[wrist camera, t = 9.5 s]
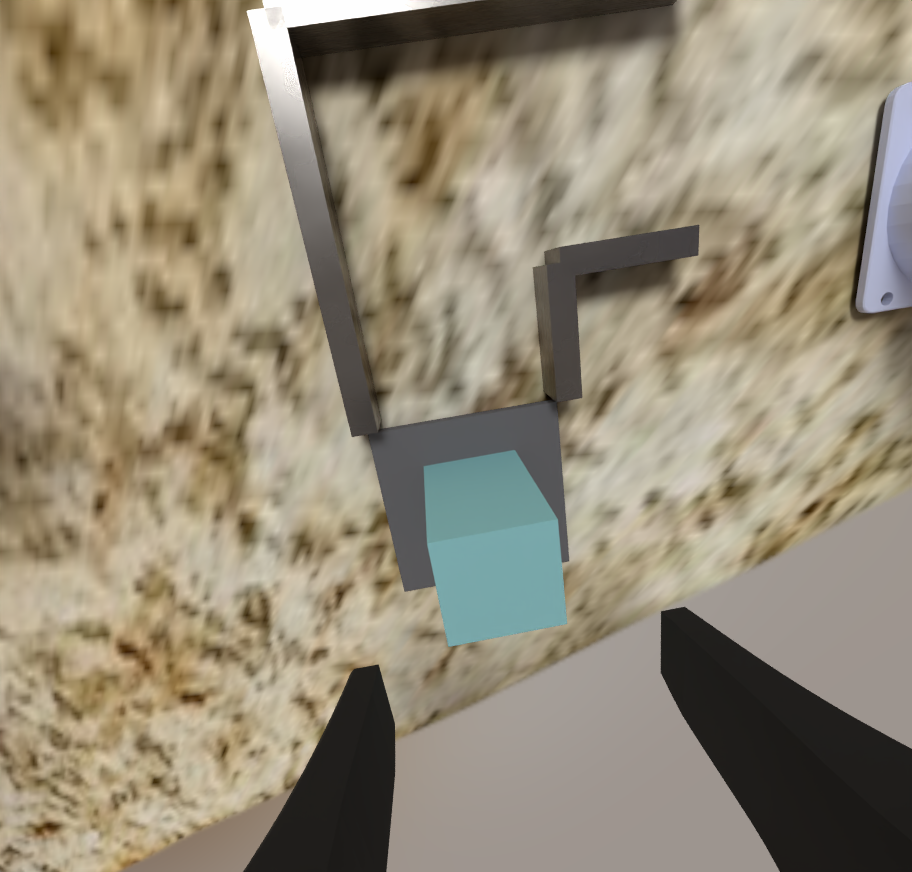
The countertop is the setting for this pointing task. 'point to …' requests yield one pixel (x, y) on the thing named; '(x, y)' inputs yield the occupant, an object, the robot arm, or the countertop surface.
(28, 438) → the countertop surface
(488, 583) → the teal block
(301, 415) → the countertop surface
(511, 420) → the rubber pad
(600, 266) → the rail
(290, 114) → the outer rail
